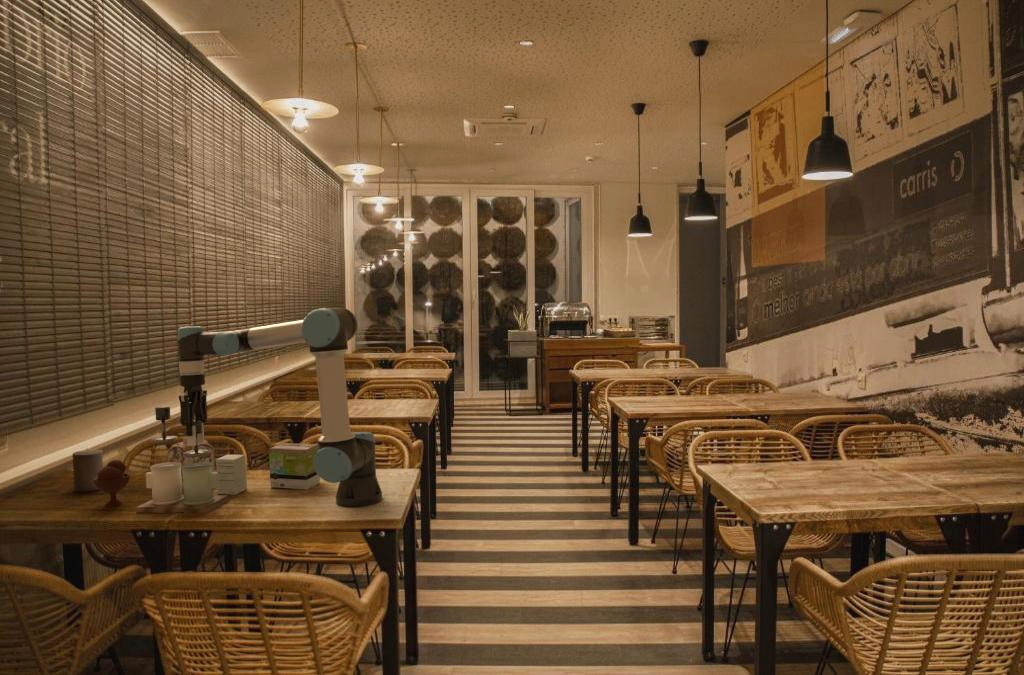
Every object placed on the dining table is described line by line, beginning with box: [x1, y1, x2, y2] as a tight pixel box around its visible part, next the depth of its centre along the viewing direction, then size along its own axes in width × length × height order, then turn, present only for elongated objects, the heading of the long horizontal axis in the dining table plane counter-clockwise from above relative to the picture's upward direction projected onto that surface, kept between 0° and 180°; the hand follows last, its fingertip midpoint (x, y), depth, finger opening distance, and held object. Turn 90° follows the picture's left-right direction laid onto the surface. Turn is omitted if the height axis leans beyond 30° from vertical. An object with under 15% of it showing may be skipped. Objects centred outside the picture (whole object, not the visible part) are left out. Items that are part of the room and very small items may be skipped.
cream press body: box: [145, 461, 184, 505], centre depth 243 cm, size 12×10×12 cm
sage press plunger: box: [183, 419, 209, 457], centre depth 241 cm, size 8×8×11 cm
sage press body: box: [181, 462, 219, 505], centre depth 241 cm, size 12×10×12 cm
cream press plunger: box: [150, 405, 179, 444], centre depth 242 cm, size 8×8×11 cm
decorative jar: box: [167, 436, 216, 490], centre depth 270 cm, size 12×12×18 cm
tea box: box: [268, 442, 321, 491], centre depth 266 cm, size 15×10×15 cm, turn 76°
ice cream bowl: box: [93, 459, 131, 508], centre depth 247 cm, size 11×11×15 cm
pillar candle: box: [72, 449, 104, 493], centre depth 269 cm, size 10×10×15 cm
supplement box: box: [215, 454, 248, 496], centre depth 259 cm, size 7×7×13 cm
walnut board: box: [136, 494, 229, 514], centre depth 243 cm, size 24×14×2 cm, turn 84°
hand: (195, 443), depth 241 cm, fingers closed on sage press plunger, 4 cm apart
